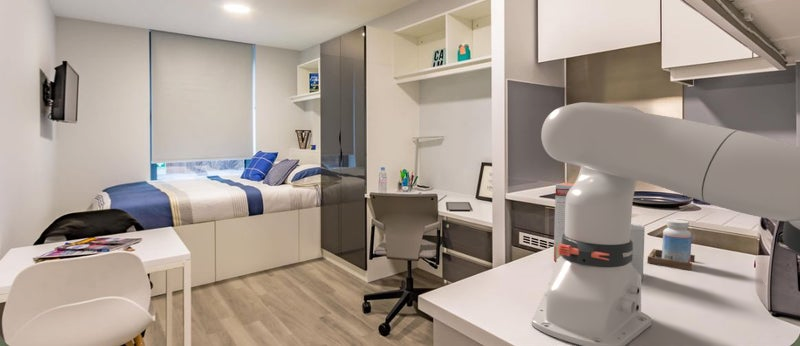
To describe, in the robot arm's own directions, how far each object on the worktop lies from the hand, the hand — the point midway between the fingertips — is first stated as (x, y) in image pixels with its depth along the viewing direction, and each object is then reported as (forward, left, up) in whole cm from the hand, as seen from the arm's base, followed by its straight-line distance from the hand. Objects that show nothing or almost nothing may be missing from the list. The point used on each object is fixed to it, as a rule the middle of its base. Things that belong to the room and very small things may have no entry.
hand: (762, 157), depth 91 cm
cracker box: (-17, +33, -28) cm, 47 cm away
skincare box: (-18, +22, -28) cm, 40 cm away
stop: (0, +16, -28) cm, 32 cm away
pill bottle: (-1, +15, -28) cm, 32 cm away
